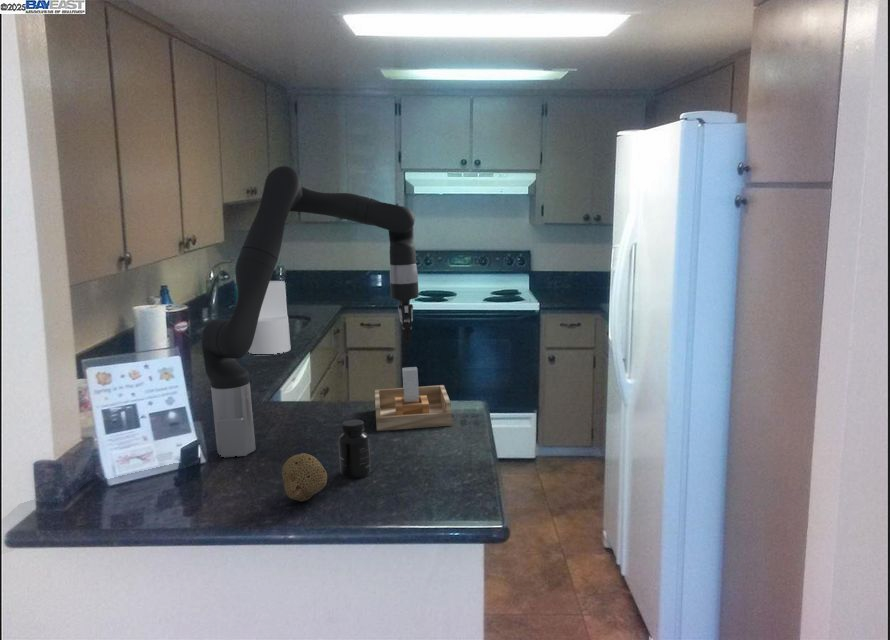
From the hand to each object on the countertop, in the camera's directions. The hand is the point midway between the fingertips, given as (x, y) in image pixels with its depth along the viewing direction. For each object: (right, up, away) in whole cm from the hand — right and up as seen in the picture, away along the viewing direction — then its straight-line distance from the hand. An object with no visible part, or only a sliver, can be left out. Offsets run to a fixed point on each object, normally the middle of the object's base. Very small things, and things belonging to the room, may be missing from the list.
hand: (407, 339), depth 206 cm
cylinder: (-62, -8, +105) cm, 122 cm away
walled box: (+1, -22, +4) cm, 22 cm away
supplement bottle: (-10, -29, -37) cm, 48 cm away
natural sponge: (-18, -32, -50) cm, 62 cm away
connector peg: (+1, -20, +4) cm, 20 cm away
